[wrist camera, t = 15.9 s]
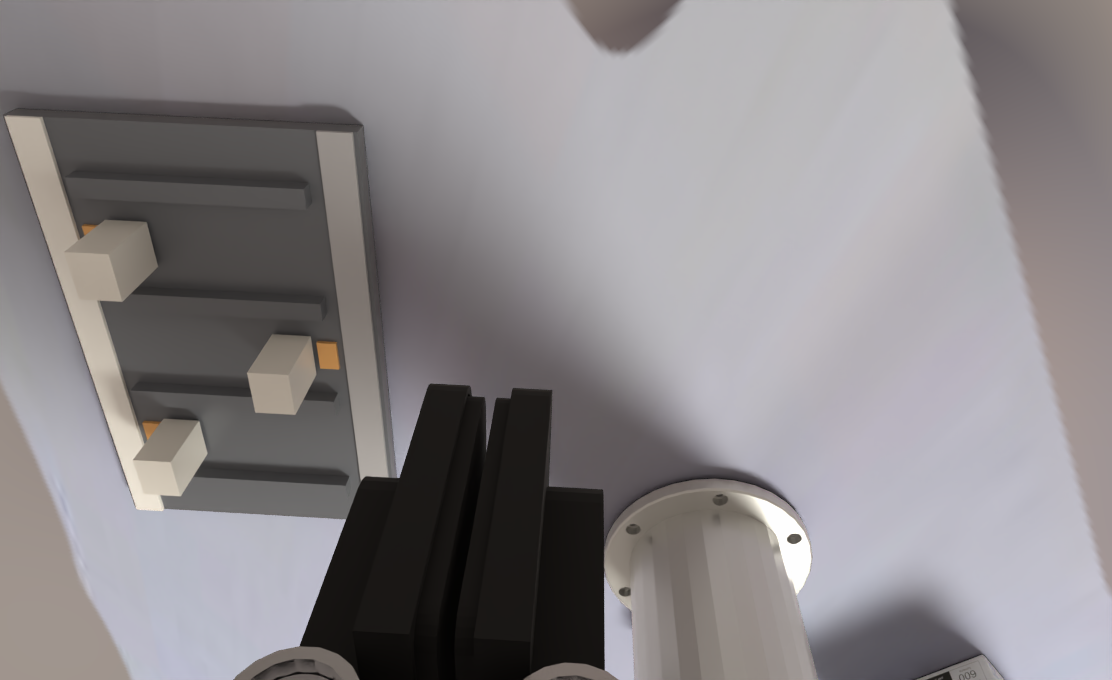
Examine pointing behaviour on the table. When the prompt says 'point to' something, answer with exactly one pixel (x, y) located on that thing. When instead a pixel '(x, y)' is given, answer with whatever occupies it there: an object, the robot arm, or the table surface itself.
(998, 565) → the table surface
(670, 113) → the table surface
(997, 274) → the table surface
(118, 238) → the tab
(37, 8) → the table surface
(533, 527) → the robot arm
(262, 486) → the switch board
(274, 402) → the tab
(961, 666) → the light bulb box
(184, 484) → the tab
